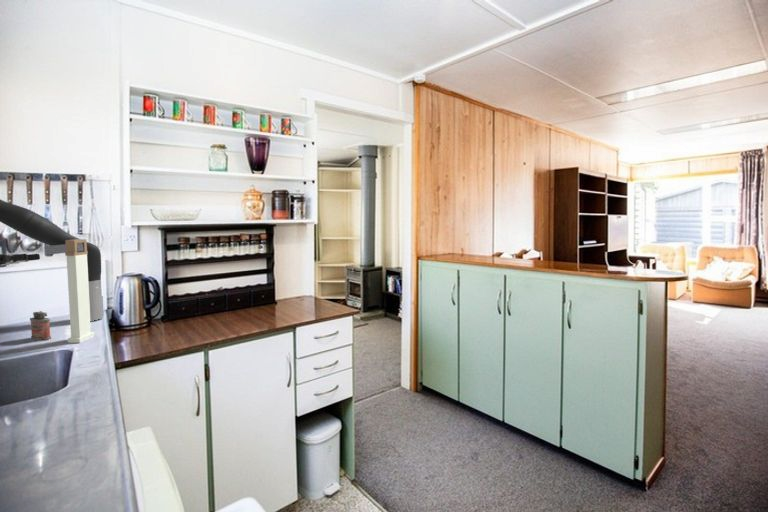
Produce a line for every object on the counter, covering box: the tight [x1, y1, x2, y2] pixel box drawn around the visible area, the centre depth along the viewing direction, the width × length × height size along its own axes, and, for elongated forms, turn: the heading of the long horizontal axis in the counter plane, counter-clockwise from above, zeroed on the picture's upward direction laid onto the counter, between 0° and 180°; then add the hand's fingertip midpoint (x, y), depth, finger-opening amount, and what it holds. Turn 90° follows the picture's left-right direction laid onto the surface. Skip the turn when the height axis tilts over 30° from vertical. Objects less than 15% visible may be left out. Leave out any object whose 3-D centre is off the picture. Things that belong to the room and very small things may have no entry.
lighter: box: [29, 310, 52, 342], centre depth 147 cm, size 8×3×10 cm, turn 71°
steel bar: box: [44, 243, 84, 256], centre depth 144 cm, size 3×11×3 cm, turn 93°
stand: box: [64, 238, 95, 344], centre depth 146 cm, size 8×4×36 cm, turn 3°
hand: (33, 256), depth 144 cm, fingers open, 8 cm apart
